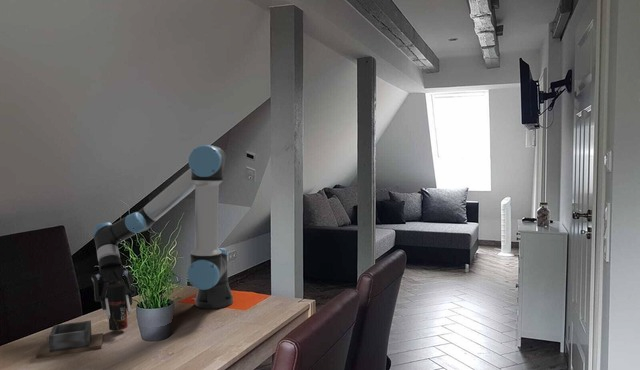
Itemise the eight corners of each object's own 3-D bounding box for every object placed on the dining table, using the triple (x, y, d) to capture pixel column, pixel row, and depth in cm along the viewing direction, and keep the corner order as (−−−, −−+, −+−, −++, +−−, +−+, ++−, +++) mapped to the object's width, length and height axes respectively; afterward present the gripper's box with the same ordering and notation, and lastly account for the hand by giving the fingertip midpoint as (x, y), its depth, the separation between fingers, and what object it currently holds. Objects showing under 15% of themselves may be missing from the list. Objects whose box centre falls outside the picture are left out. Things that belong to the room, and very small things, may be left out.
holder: (103, 335, 165) (102, 318, 165) (101, 348, 154) (100, 329, 154) (43, 344, 159) (41, 326, 158) (36, 358, 147) (35, 338, 147)
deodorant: (120, 330, 165) (118, 287, 164) (105, 330, 166) (102, 287, 166) (131, 324, 171) (128, 283, 170) (116, 324, 172) (113, 282, 171)
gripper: (135, 262, 186) (146, 315, 173) (80, 269, 176) (88, 326, 163) (137, 250, 181) (149, 304, 168) (81, 257, 171) (89, 314, 158)
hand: (119, 314), depth 165 cm, fingers closed on deodorant, 6 cm apart
